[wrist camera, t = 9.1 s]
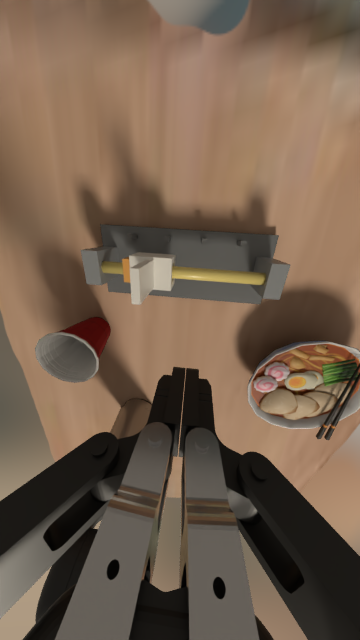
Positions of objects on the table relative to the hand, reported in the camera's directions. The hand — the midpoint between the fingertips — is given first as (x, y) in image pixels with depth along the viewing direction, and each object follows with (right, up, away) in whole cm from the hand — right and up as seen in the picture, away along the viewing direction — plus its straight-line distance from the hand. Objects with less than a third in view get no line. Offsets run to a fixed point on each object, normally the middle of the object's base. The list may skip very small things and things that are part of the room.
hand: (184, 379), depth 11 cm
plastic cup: (-19, +2, +31) cm, 37 cm away
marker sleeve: (-4, +12, +19) cm, 23 cm away
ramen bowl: (+25, -7, +31) cm, 41 cm away
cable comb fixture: (+1, +14, +23) cm, 27 cm away
